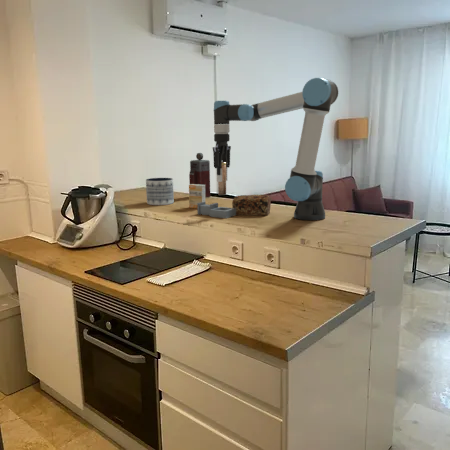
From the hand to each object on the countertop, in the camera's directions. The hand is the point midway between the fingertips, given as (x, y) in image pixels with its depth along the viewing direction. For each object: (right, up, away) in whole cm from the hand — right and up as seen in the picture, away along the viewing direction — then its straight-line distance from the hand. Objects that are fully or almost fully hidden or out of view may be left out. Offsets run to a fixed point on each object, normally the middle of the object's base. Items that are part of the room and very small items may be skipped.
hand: (222, 181), depth 232 cm
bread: (+15, -16, +9) cm, 24 cm away
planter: (-37, -9, +45) cm, 59 cm away
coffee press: (-15, -4, +67) cm, 69 cm away
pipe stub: (0, -7, +1) cm, 7 cm away
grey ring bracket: (-3, -17, +6) cm, 18 cm away
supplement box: (-14, -13, +28) cm, 33 cm away
